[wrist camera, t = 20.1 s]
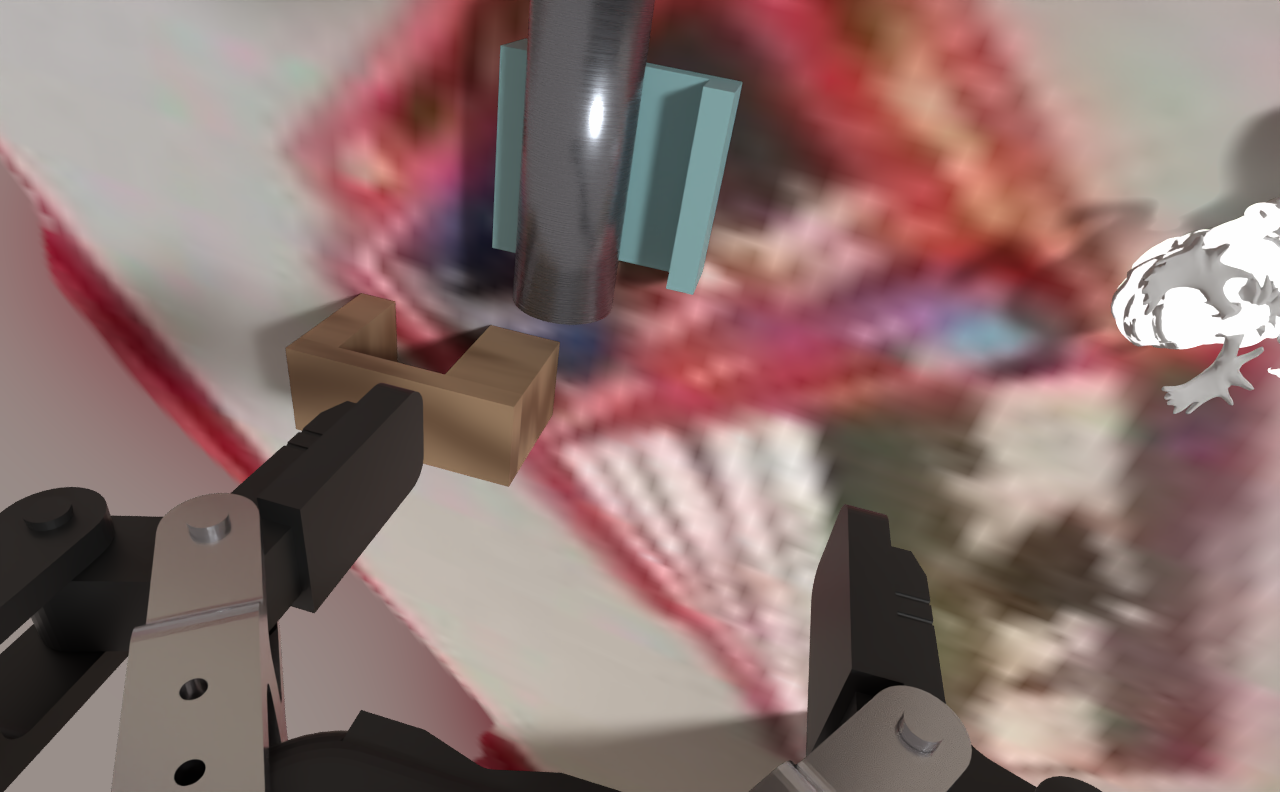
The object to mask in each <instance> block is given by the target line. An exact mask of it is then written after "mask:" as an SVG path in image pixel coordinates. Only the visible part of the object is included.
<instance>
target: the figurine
mask: <svg viewBox="0 0 1280 792" xmlns="http://www.w3.org/2000/svg"><path fill="white" fill-rule="evenodd" d="M1111 312H1112V315H1113V317H1114V318H1115V319H1116V324H1117V326H1118V328H1119V330H1120V332H1121V333H1122V334H1123V335H1124V336H1125V337H1126V338H1127V339H1128V340H1129V341H1130V342H1132V343H1133V344H1134V345H1136V346H1145V345H1152V346H1153V347H1157V348H1168V349H1187V348H1192V347H1195V346H1199V345H1202V344H1213V343H1224V345H1223V348H1222V350H1221V352H1220V353H1219V355H1218V357H1217V358H1216V360H1215V361H1214V363H1213V364H1212V365H1211V366H1209V367H1208V368H1207V369H1206V370H1205V371H1203V372H1202V373H1201V374H1199V375H1198V376H1196V377H1195V378H1193V379H1192V380H1190V381H1189V382H1187V383H1185V384H1183V385H1179V386H1166V387H1163V388H1162V391H1166V392H1168V393H1167V394H1166V395H1165V397H1164V398H1165V399H1168V402H1167V404H1168V405H1174V411H1173V414H1176V413H1178V412H1181V411H1182V410H1184V409H1185V408H1187V407H1188V406H1189V405H1190V404H1191V403H1193V402H1194V403H1193V404H1192V405H1191V406H1190V407H1189V408H1188V409H1187V411H1186V414H1190V413H1191V412H1192V411H1194V410H1195V409H1196V408H1197V407H1199V406H1200V405H1201V404H1203V403H1204V402H1206V401H1208V400H1209V399H1211V398H1214V397H1216V396H1217V397H1222V398H1223V399H1224V400H1225V401H1226V402H1227V403H1228V404H1229V405H1233V401H1232V399H1231V397H1230V396H1229V393H1228V387H1230V386H1231V385H1235V386H1240V387H1243V388H1245V389H1248V390H1253V389H1254V388H1253V386H1252V385H1251V384H1250V383H1249V382H1248V381H1247V380H1246V379H1245V378H1244V377H1243V376H1242V375H1241V373H1240V371H1239V369H1240V368H1241V366H1242V365H1243V364H1244V363H1245V362H1247V361H1249V360H1251V359H1253V358H1255V357H1257V356H1259V355H1260V354H1261V353H1262V352H1263V351H1264V350H1263V347H1260V348H1258V349H1256V350H1254V351H1252V352H1250V353H1247V354H1244V355H1241V356H1238V357H1236V356H1237V353H1238V349H1239V348H1241V347H1246V346H1251V345H1254V344H1256V343H1258V342H1260V341H1261V340H1263V339H1265V338H1267V337H1268V338H1276V337H1277V341H1278V342H1279V343H1280V197H1279V198H1274V199H1271V200H1269V201H1267V202H1266V203H1256V204H1254V205H1251V206H1250V207H1248V208H1247V209H1246V211H1245V213H1244V216H1242V217H1240V218H1238V219H1235V220H1232V221H1230V222H1226V223H1224V224H1221V225H1219V226H1217V227H1214V228H1210V229H1207V230H1206V229H1201V230H1197V231H1193V232H1189V233H1187V234H1185V235H1183V236H1180V237H1175V238H1170V239H1167V240H1166V241H1164V242H1162V243H1160V244H1158V245H1156V246H1154V247H1152V248H1151V249H1150V250H1148V251H1147V252H1146V253H1144V254H1143V255H1142V256H1141V257H1140V258H1139V259H1138V260H1137V261H1136V262H1135V263H1134V264H1133V266H1132V269H1131V270H1130V271H1128V272H1127V278H1126V279H1125V280H1124V281H1123V282H1122V283H1121V284H1120V286H1119V287H1118V289H1117V291H1116V292H1115V293H1114V296H1113V298H1112V303H1111ZM1270 369H1271V368H1269V369H1268V372H1269V373H1271V374H1276V375H1277V376H1278V377H1280V369H1276V370H1270Z"/></svg>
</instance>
